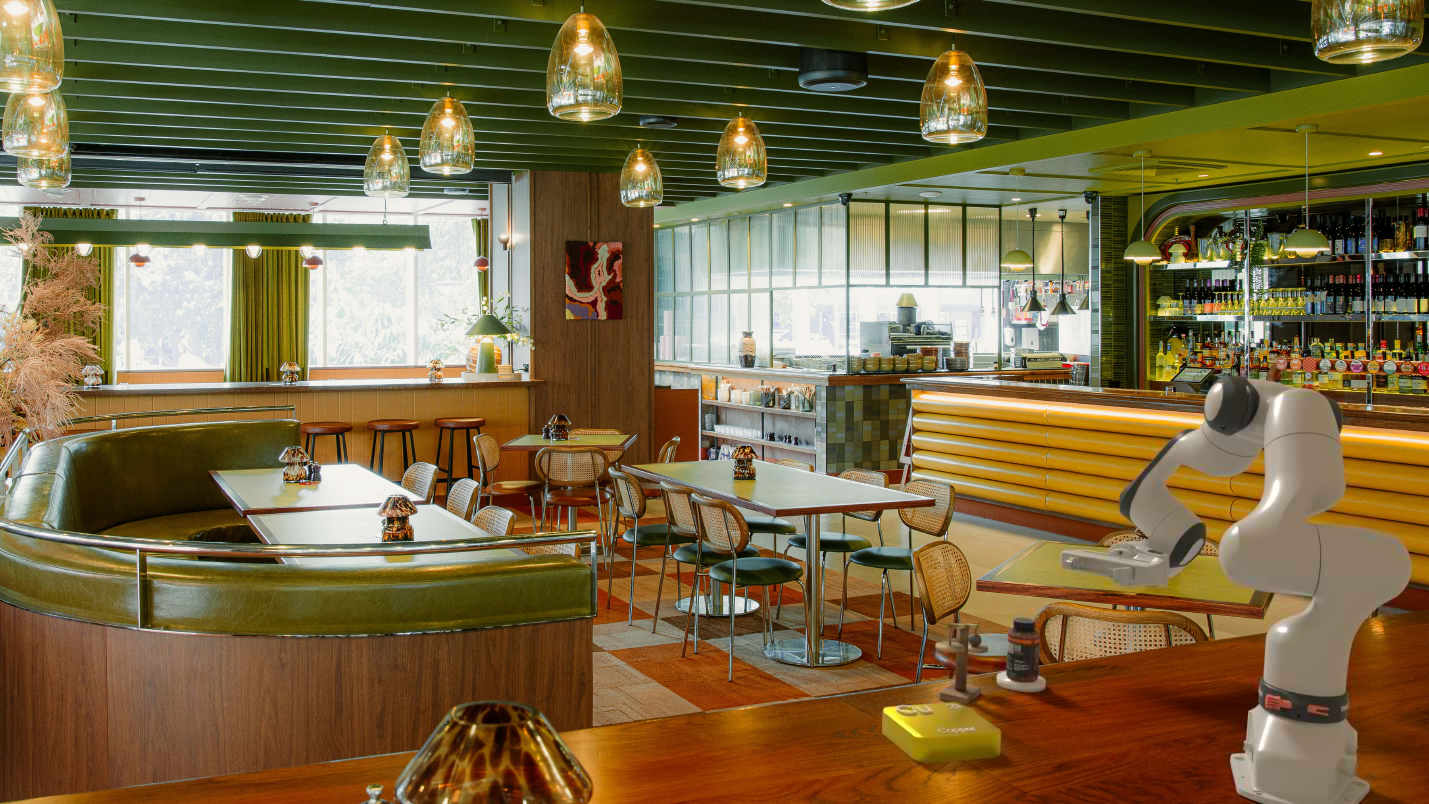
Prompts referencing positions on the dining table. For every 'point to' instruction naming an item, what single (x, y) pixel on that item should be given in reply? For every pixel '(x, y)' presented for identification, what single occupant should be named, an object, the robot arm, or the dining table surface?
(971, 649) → the balance
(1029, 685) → the dish
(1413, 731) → the dining table surface
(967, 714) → the element tile
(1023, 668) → the supplement bottle
